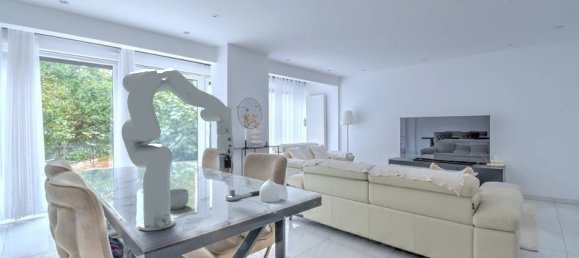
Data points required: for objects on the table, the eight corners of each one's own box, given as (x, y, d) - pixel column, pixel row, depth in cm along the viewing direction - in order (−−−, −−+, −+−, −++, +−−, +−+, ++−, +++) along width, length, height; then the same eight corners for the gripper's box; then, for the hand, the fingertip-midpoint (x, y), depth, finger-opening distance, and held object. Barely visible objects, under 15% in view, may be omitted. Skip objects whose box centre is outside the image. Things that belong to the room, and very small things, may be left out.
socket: (231, 168, 141) (231, 154, 141) (223, 169, 138) (223, 155, 138) (227, 167, 144) (226, 153, 144) (219, 168, 141) (219, 154, 141)
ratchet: (265, 194, 158) (265, 185, 158) (230, 202, 143) (229, 192, 143) (258, 192, 163) (258, 184, 163) (223, 199, 148) (223, 190, 148)
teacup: (192, 204, 139) (192, 188, 139) (182, 210, 128) (181, 193, 128) (166, 204, 140) (165, 188, 140) (153, 210, 129) (153, 193, 129)
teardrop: (255, 201, 143) (255, 178, 143) (263, 196, 153) (263, 174, 154) (276, 202, 140) (275, 178, 140) (282, 197, 150) (282, 175, 150)
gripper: (239, 131, 137) (240, 168, 137) (223, 131, 150) (224, 165, 150) (225, 131, 132) (227, 170, 132) (209, 131, 145) (211, 166, 145)
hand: (225, 166), depth 141 cm, fingers closed on socket, 4 cm apart
